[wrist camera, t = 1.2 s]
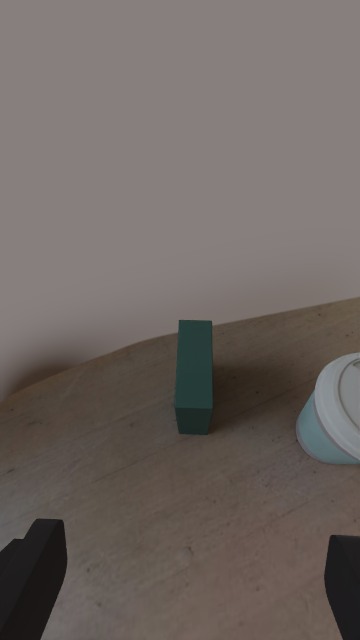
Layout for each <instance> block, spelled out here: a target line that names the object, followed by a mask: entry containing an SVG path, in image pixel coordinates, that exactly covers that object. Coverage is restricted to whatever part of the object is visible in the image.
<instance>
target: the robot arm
mask: <svg viewBox="0 0 360 640" xmlns="http://www.w3.org/2000/svg"><path fill="white" fill-rule="evenodd" d="M66 568H67V549H66V540H65V530H64V522H63V520H57V519H36V520H35V521H34V522H33V524H32V525H31V527H30V529H29V530H28V532H27V534H26V535H25V537H24V539H13V540H12V541H11V542H10V543H9V544H8V545H7V546H6V547H5V548H4V549H3V550H2V551H1V552H0V640H40V639H41V637H42V634H43V632H44V629H45V627H46V624H47V622H48V619H49V617H50V614H51V612H52V609H53V607H54V604H55V602H56V599H57V597H58V594H59V591H60V589H61V586H62V584H63V581H64V577H65V573H66ZM324 580H325V588H326V593H327V597H328V601H329V604H330V606H331V609H332V612H333V614H334V617H335V620H336V622H337V625H338V628H339V630H340V633H341V636H342V638H343V640H360V537H359V536H345V535H331V536H330V540H329V546H328V553H327V560H326V566H325V574H324Z"/></svg>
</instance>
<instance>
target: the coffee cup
mask: <svg viewBox="0 0 360 640" xmlns="http://www.w3.org/2000/svg"><path fill="white" fill-rule="evenodd" d="M295 429H296V436H297V439H298V441H299V443H300V445H301V447H302V448H303V449H304V451H305V452H306V453H307V454H308V455H309V456H311V457H312V458H313V459H315V460H317V461H319V462H322V463H326V464H360V352H359V353H352V354H347V355H344V356H342V357H339V358H338V359H335V360H334V361H332V362H330V363H329V364H328V365H327V366H326V367H325V368H324V369H323V370H322V371H321V373H320V375H319V377H318V379H317V382H316V386H315V390H314V392H313V393H312V395H311V396H310V398H309V400H308V401H307V403H306V404H305V406H304V408H303V409H302V411H301V413H300V414H299V416H298V418H297V421H296V427H295Z"/></svg>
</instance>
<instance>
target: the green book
mask: <svg viewBox="0 0 360 640" xmlns="http://www.w3.org/2000/svg"><path fill="white" fill-rule="evenodd" d="M174 407H175V413H176V419H177V425H178V431H179V434H199V435H207V433H208V429H209V424H210V420H211V416H212V411H213V360H212V321H198V320H179V331H178V350H177V369H176V387H175V406H174Z"/></svg>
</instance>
